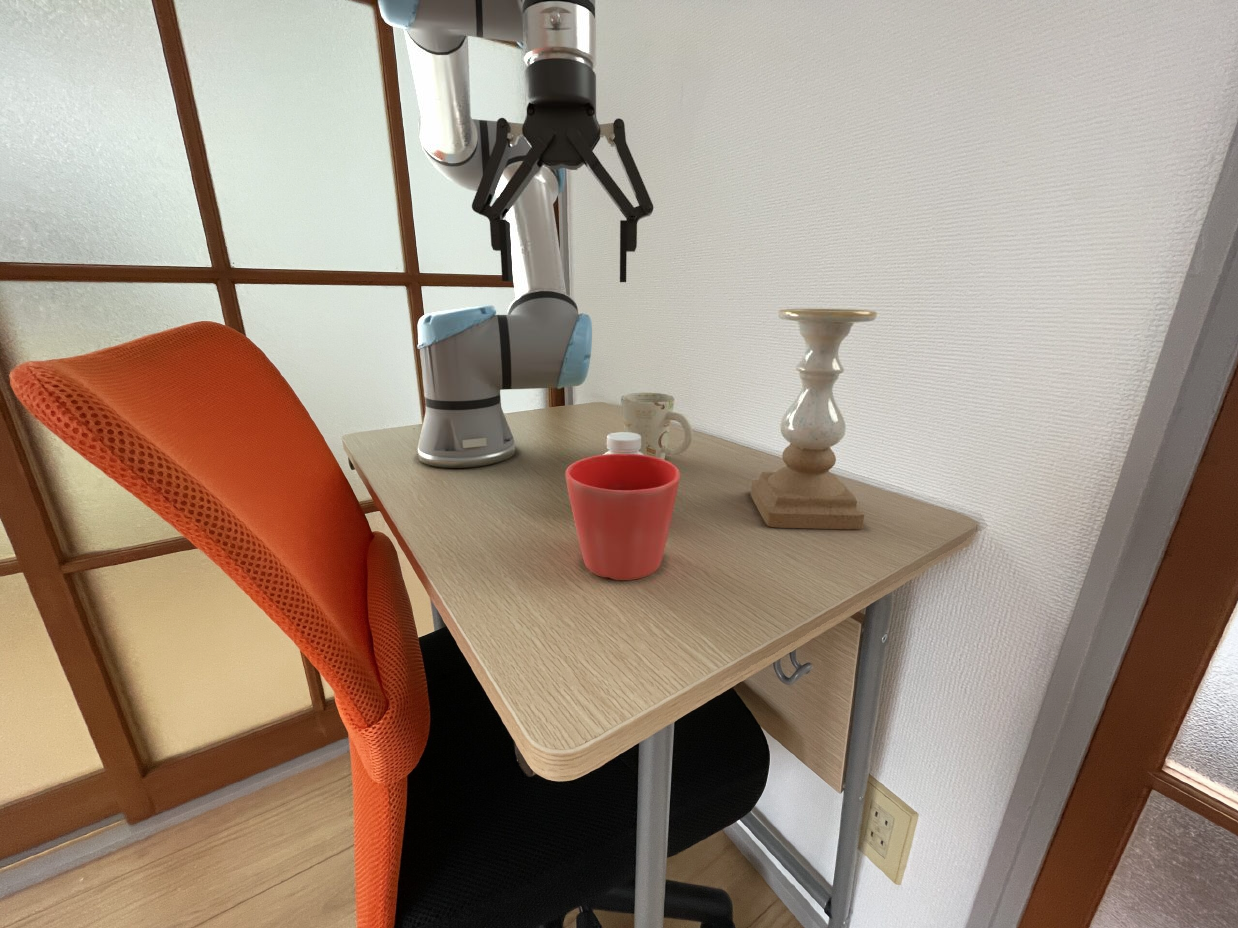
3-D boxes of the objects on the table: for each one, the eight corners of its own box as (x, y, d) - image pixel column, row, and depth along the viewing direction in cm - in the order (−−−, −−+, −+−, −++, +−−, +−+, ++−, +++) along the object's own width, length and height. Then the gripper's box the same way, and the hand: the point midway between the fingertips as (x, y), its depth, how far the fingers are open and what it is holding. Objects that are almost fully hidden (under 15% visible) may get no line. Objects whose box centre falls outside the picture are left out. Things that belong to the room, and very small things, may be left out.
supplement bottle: (654, 515, 64) (657, 436, 61) (620, 527, 60) (621, 444, 57) (625, 502, 68) (626, 427, 65) (591, 512, 64) (590, 435, 61)
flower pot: (597, 602, 46) (596, 498, 43) (552, 549, 55) (549, 461, 52) (697, 574, 50) (703, 478, 47) (640, 530, 60) (642, 447, 57)
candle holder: (767, 527, 60) (789, 311, 53) (749, 493, 71) (765, 308, 63) (864, 529, 60) (900, 312, 53) (831, 494, 70) (858, 308, 63)
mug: (639, 448, 91) (640, 390, 88) (704, 461, 84) (708, 399, 81) (610, 459, 85) (610, 398, 82) (678, 475, 78) (681, 408, 75)
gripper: (430, 53, 52) (450, 280, 59) (682, 54, 52) (674, 281, 59) (453, 82, 59) (468, 281, 66) (675, 83, 59) (668, 283, 66)
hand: (565, 282), depth 62 cm, fingers open, 13 cm apart
